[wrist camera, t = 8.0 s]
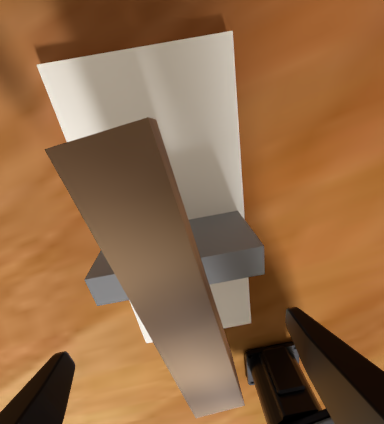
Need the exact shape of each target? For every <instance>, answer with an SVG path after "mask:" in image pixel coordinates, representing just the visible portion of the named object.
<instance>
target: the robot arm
mask: <svg viewBox="0 0 384 424" xmlns="http://www.w3.org/2000/svg"><path fill="white" fill-rule="evenodd" d="M286 326H287V329H288V331H289V334H290V336H291V338H292V340H293V342H290V343H285V344H280V345H274V346H269V347H264V348H259V349H254V350H249V351H247V352H246V353H245V359H246V370H247V380H248V384H249V385H255V387H256V390H257V393H258V397H259V400H260V403H261V406H262V409H263V412H264V416H265V419H266V422H267V424H384V371H382V370H381V369H380V368H378V367H377V366H376V365H374V364H373V363H372V362H370V361H369V360H368V359H366V358H365V357H364V356H362V355H361V354H360V353H358V352H357V351H356V350H354V349H353V348H352V347H350V346H349V345H347V344H346V343H345V342H343V341H342V340H341V339H339V338H338V337H337V336H335V335H334V334H333V333H331V332H330V331H329V330H327V329H326V328H325V327H323V326H322V325H321V324H319V323H318V322H317V321H315V320H314V319H313V318H311V317H310V316H309V315H307V314H306V313H304V312H303V311H302V310H300V309H299V308H297V307H291V308H287V309H286ZM299 357H300V359H301V361H302V363H303V366H304V368H305V370H306V372H307V374H308V376H309V378H310V380H311V381H312V383H313V385H314V387H315V389H316V391H317V392H318V394H319V396H320V398H321V400H322V402H323V403H324V405H325V407H326V409H323V410H322V408H321V406H320V405H319V403H318V401H317V399H316V397H315V395H314V393H313V391H312V389H311V387H310V385H309V383H308V382H307V380H306V378H305V376H304V374H303V372H302V370H301V368H300V366H299ZM74 371H75V363H74V361H73V360H72V358H71V357H70V355H69V354H68V352H66V351H65V352H59V353H56V354H54V355H53V356H52V357H51V358H50V359H49V360H48V361H47V363H46V364H45V365H44V366H43V367H42V368H41V369H40V370H39V371H38V372H37V373H36V374H35V376H34V377H33V378H32V379H31V380H30V381H29V382H28V383H27V384H26V385H25V386H24V387H23V389H22V390H21V391H20V392H19V393H18V394H17V395H16V396H15V397H14V398H13V399H12V400H11V401H10V403H9V404H8V405H7V406H6V407H5V408H4V409H3V410H2V411H1V412H0V424H62V423H63V419H64V415H65V411H66V407H67V403H68V398H69V394H70V389H71V385H72V380H73V376H74Z"/></svg>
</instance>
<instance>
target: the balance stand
mask: <svg viewBox="0 0 384 424" xmlns="http://www.w3.org/2000/svg"><path fill="white" fill-rule="evenodd" d="M37 67H38V70H39V72H40V75H41V78H42V80H43V83H44V85H45V88H46V90H47V93H48V95H49V98H50V100H51V103H52V105H53V108H54V111H55V113H56V116H57V118H58V121H59V123H60V126H61V128H62V131H63V133H64V136H65V138H66V141H67V142H70V141H73V140H76V139H80V138H83V137H86V136H89V135H92V134H96V133H99V132H102V131H105V130H109V129H112V128H115V127H118V126H121V125H125V124H128V123H131V122H134V121H137V120H141V119H144V118H147V117H149V118H153V119H156V121H157V124H158V127H159V130H160V133H161V136H162V139H163V142H164V145H165V149H166V152H167V155H168V158H169V161H170V164H171V167H172V170H173V173H174V176H175V180H176V183H177V186H178V189H179V192H180V195H181V198H182V201H183V204H184V208H185V211H186V214H187V217H188V220H189V223H190V226H191V229H192V232H193V235H194V239H195V242H196V245H197V248H198V251H199V254H200V257H201V260H202V263H203V266H204V270H205V273H206V276H207V279H208V282H209V285H210V288H211V291H212V294H213V297H214V301H215V304H216V307H217V310H218V313H219V316H220V319H221V322H222V325H223V329H224V328H229V327H234V326H239V325H244V324H250V323H251V311H250V295H249V280H248V277H252V276H257V275H263V274H265V268H264V245H263V244H262V243H261V241H260V240H259V239H258V237H257V236H256V234H255V233H254V232H253V230H252V229H251V228H250V226H249V225H248V224H247V222H246V221H245V217H244V201H243V186H242V170H241V154H240V139H239V123H238V107H237V91H236V76H235V60H234V44H233V31H228V32H222V33H216V34H210V35H205V36H199V37H193V38H187V39H182V40H176V41H170V42H164V43H159V44H153V45H147V46H141V47H136V48H130V49H124V50H118V51H113V52H107V53H101V54H95V55H90V56H84V57H78V58H72V59H67V60H61V61H55V62H49V63H44V64H38V65H37ZM85 282H86V284H87V286H88V288H89V290H90V292H91V294H92V296H93V298H94V300H95V302H96V304H97V306H100V305H105V304H110V303H115V302H121V301H126V300H129V298H128V297H127V295H126V293H125V291H124V290H123V288H122V286H121V284H120V282H119V281H118V279H117V277H116V275H115V274H114V272H113V270H112V268H111V267H110V265H109V263H108V261H107V259H106V258H105V256H104V254H103V252H102V251H100V253H99V255H98V257H97V258H96V260H95V262H94V264H93V266H92V267H91V269H90V271H89V273H88V274H87V276H86V278H85ZM129 301H130V300H129ZM130 303H131V302H130ZM131 306H132V304H131ZM132 308H133V311H134V313H135V316H136V318H137V321H138V323H139V326H140V329H141V331H142V334H143V336H144V339H145V341H146V343H151V342H153V341H152V339H151V338H150V336H149V334H148V332H147V330H146V329H145V327H144V325H143V323H142V322H141V320H140V318H139V316H138V314H137V313H136V311H135V309H134V307H133V306H132Z"/></svg>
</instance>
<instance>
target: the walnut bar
mask: <svg viewBox="0 0 384 424" xmlns="http://www.w3.org/2000/svg"><path fill="white" fill-rule="evenodd" d="M45 151H46V153H47V155H48V156H49V158H50V160H51V162H52V164H53V165H54V167H55V169H56V171H57V172H58V174H59V176H60V178H61V179H62V181H63V183H64V185H65V187H66V188H67V190H68V192H69V194H70V195H71V197H72V199H73V201H74V203H75V204H76V206H77V208H78V210H79V211H80V213H81V215H82V217H83V219H84V220H85V222H86V224H87V226H88V227H89V229H90V231H91V233H92V235H93V236H94V238H95V240H96V242H97V243H98V245H99V247H100V249H101V251H102V252H103V254H104V256H105V258H106V259H107V261H108V263H109V265H110V267H111V268H112V270H113V272H114V274H115V275H116V277H117V279H118V281H119V282H120V284H121V286H122V288H123V290H124V291H125V293H126V295H127V297H128V298H129V300H130V302H131V304H132V306H133V307H134V309H135V311H136V313H137V314H138V316H139V318H140V320H141V322H142V323H143V325H144V327H145V329H146V330H147V332H148V334H149V336H150V338H151V339H152V341H153V343H154V345H155V346H156V348H157V350H158V352H159V354H160V355H161V357H162V359H163V361H164V362H165V364H166V366H167V368H168V370H169V371H170V373H171V375H172V377H173V378H174V380H175V382H176V384H177V385H178V387H179V389H180V391H181V393H182V394H183V396H184V398H185V400H186V401H187V403H188V405H189V407H190V409H191V410H192V412H193V414H194V416H195V417H196V418H199V417H203V416H206V415H210V414H214V413H218V412H222V411H226V410H230V409H233V408H237V407H241V406H245V404H244V400H243V397H242V393H241V389H240V385H239V381H238V377H237V373H236V369H235V365H234V361H233V357H232V353H231V350H230V347H229V344H228V341H227V338H226V335H225V332H224V329H223V325H222V322H221V319H220V316H219V313H218V310H217V307H216V304H215V301H214V297H213V294H212V291H211V288H210V285H209V282H208V279H207V276H206V273H205V270H204V266H203V263H202V260H201V257H200V254H199V251H198V248H197V245H196V242H195V239H194V235H193V232H192V229H191V226H190V223H189V220H188V217H187V214H186V211H185V208H184V204H183V201H182V198H181V195H180V192H179V189H178V186H177V183H176V180H175V176H174V173H173V170H172V167H171V164H170V161H169V158H168V155H167V152H166V149H165V145H164V142H163V139H162V136H161V133H160V130H159V127H158V124H157V121H156V119H153V118H149V117H147V118H144V119H141V120H137V121H134V122H131V123H128V124H125V125H121V126H118V127H115V128H112V129H109V130H105V131H102V132H99V133H96V134H92V135H89V136H86V137H83V138H80V139H76V140H73V141H70V142H67V143H63V144H60V145H57V146H54V147H51V148H47V149H45Z"/></svg>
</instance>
